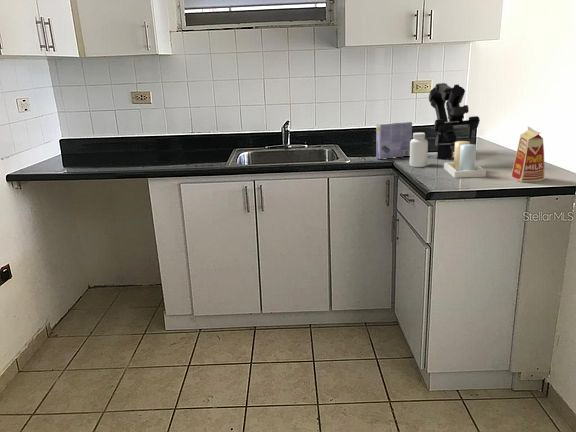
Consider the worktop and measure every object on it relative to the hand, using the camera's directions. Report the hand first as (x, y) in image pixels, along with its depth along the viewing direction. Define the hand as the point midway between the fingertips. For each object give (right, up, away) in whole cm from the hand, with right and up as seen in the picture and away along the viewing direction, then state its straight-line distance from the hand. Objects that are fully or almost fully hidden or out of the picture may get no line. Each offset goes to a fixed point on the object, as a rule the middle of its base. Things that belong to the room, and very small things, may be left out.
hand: (459, 139), depth 216 cm
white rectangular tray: (-1, -16, -9) cm, 18 cm away
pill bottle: (-15, -10, +12) cm, 22 cm away
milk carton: (+17, -20, -26) cm, 37 cm away
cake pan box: (-20, -4, +36) cm, 42 cm away
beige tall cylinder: (-1, -14, -5) cm, 15 cm away
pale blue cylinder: (-2, -16, -13) cm, 21 cm away
